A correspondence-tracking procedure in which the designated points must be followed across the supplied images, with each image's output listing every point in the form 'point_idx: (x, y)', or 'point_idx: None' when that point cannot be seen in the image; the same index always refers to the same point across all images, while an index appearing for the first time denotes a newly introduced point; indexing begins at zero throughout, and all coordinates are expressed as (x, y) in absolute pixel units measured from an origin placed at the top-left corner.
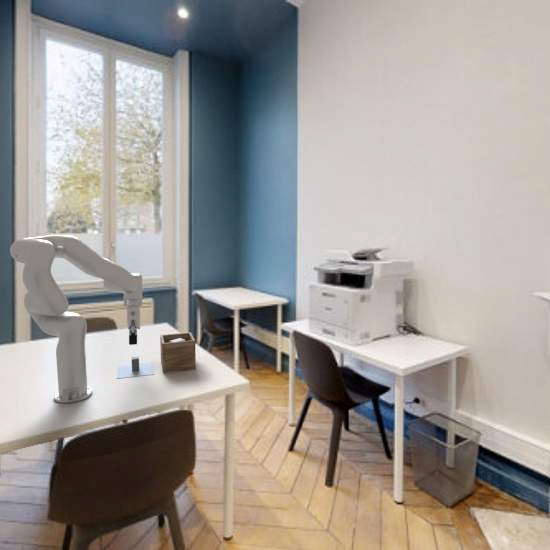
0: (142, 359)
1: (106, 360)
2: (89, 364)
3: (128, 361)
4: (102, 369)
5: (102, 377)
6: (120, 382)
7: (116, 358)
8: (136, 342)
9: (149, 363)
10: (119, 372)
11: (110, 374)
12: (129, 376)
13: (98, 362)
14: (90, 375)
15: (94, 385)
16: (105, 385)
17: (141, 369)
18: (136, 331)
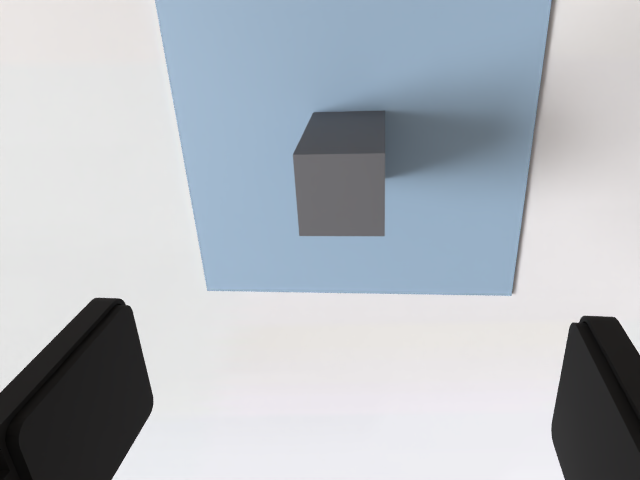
0: (35, 82)
1: None
2: (135, 450)
3: (89, 212)
4: (256, 383)
5: (432, 380)
6: (616, 265)
7: (10, 302)
8: (624, 346)
9: (180, 1)
10: (372, 278)
11: (386, 335)
12: (512, 199)
13: None
14: (361, 442)
15: None
16: None
17: (352, 89)
18: (38, 409)
